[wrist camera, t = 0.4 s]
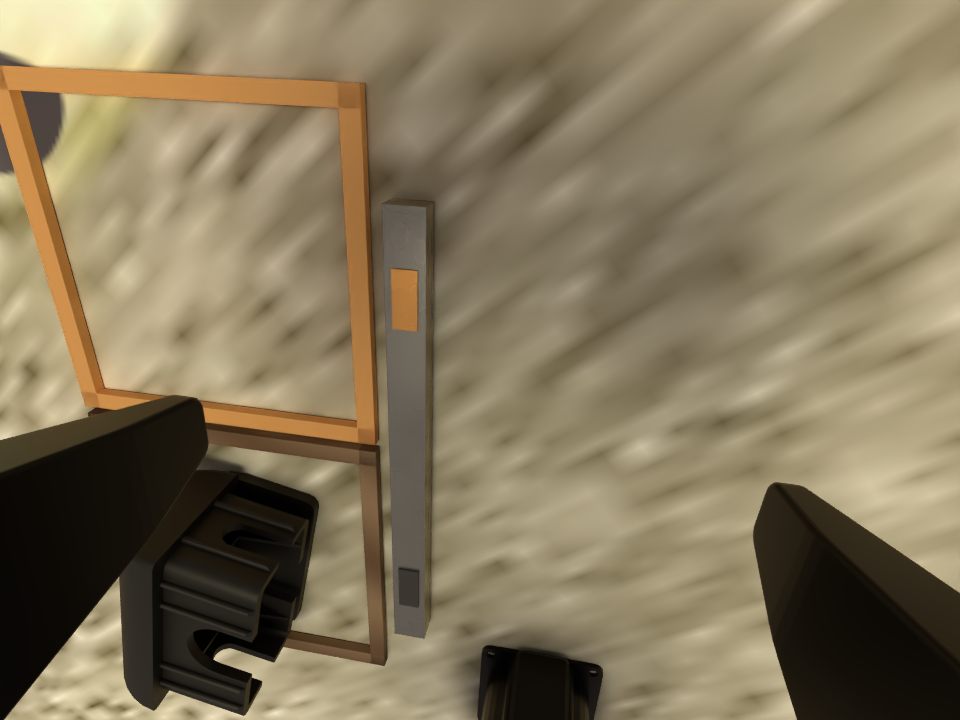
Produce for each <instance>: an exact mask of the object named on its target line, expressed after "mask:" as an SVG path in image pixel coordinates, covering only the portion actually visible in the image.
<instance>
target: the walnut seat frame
mask: <svg viewBox="0 0 960 720" xmlns="http://www.w3.org/2000/svg"><path fill="white" fill-rule="evenodd" d="M110 411H114V410H108V409H100V408H95V409H93V410H92V411H90V412H88V416H89V417H91V416H95V415H98V414H102V413H106V412H110ZM206 428H207V434H208V440H209V442H208V443H210V444H217V445H224V446H231V447H238V448H245V449H252V450H259V451H266V452H274V453H281V454H288V455H295V456H302V457H309V458H316V459H323V460H330V461H338V462H345V463H352V464H359V466H360V483H361V500H362V517H363V534H364V551H365V568H366V585H367V602H368V619H369V636H370V645H365V644H359V643H354V642H348V641H343V640H337V639H332V638H327V637H321V636H316V635H310V634H305V633H299V632H294V631H290V633H289V635H288V638H287V640H286V642H285V644H284V646H283V647H287V648H292V649H297V650H302V651H308V652H313V653H318V654H324V655H329V656H334V657H340V658H345V659H350V660H355V661H361V662H366V663H371V664H377V665H382V666H385V664H386V661H387V635H386V610H385V585H384V559H383V534H382V509H381V483H380V458H379V446H373V445H365V444H358V443H351V442H343V441H336V440H329V439H321V438H314V437H306V436H299V435H292V434H284V433H277V432H270V431H262V430H255V429H247V428H240V427H233V426H225V425H218V424H211V423H206Z"/></svg>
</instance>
